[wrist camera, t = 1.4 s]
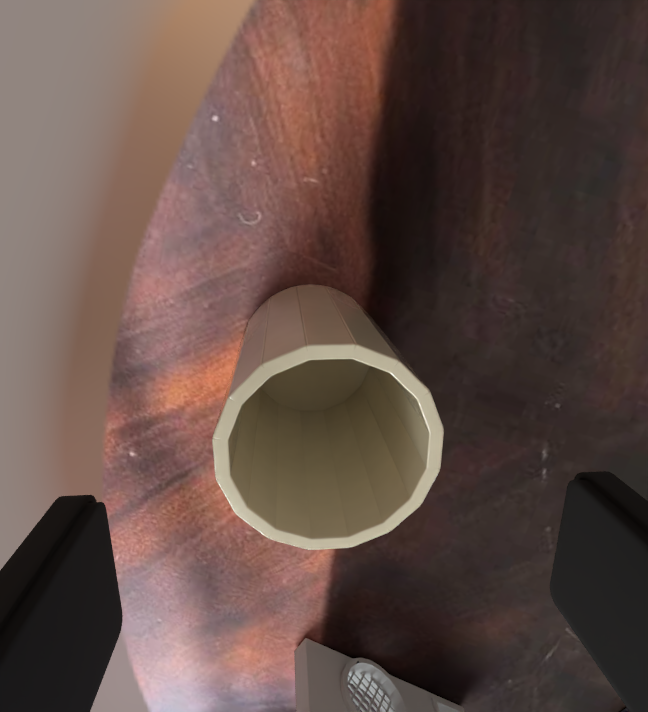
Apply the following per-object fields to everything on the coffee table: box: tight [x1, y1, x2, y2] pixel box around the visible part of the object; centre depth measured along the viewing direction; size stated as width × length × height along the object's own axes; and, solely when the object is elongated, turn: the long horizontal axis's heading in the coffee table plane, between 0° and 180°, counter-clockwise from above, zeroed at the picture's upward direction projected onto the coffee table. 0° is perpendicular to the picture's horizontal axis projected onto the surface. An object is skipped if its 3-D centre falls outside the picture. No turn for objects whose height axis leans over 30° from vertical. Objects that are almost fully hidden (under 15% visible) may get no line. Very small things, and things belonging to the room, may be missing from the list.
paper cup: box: [212, 284, 444, 550], centre depth 16 cm, size 6×6×9 cm
